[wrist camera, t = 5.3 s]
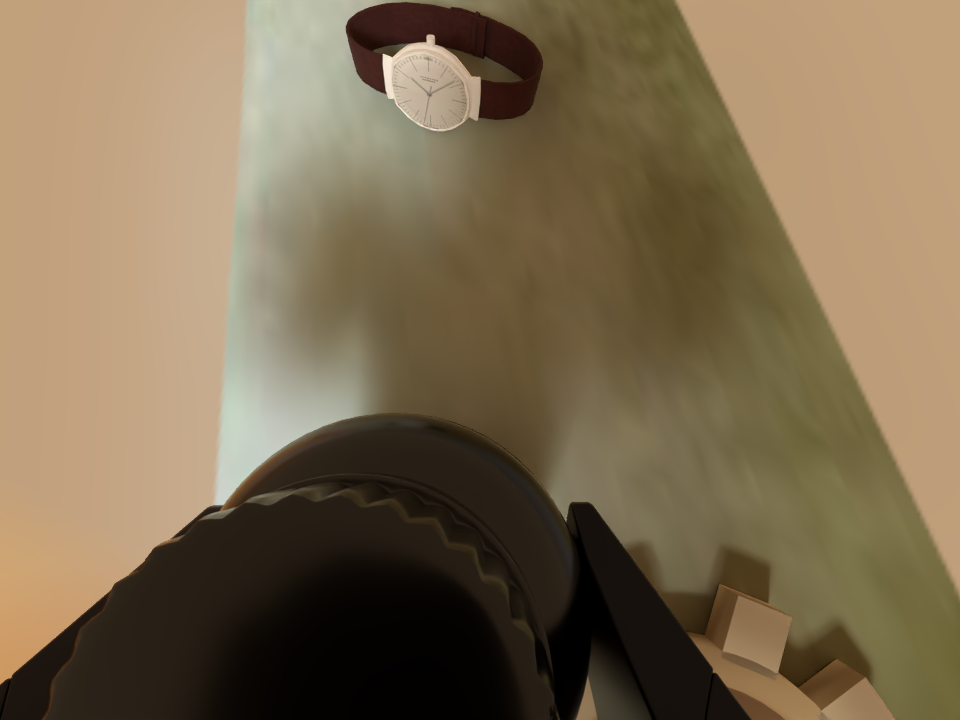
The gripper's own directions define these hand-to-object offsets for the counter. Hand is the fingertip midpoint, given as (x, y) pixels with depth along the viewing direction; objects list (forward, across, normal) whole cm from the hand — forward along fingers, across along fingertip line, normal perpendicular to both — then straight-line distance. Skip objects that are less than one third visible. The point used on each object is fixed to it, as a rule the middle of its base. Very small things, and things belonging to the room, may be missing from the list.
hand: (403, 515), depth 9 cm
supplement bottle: (+4, 0, +6) cm, 7 cm away
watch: (+17, 0, -6) cm, 18 cm away
